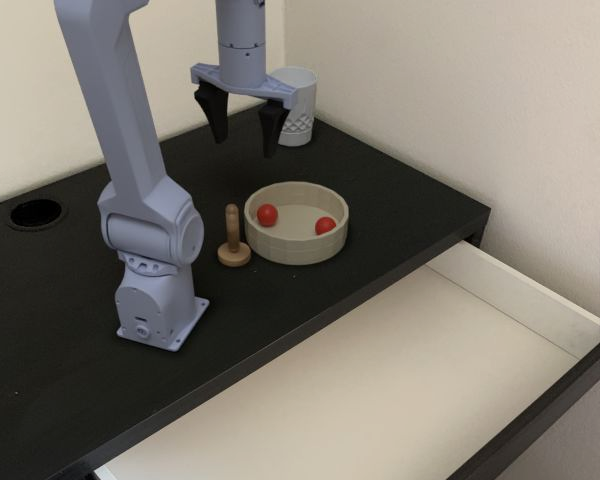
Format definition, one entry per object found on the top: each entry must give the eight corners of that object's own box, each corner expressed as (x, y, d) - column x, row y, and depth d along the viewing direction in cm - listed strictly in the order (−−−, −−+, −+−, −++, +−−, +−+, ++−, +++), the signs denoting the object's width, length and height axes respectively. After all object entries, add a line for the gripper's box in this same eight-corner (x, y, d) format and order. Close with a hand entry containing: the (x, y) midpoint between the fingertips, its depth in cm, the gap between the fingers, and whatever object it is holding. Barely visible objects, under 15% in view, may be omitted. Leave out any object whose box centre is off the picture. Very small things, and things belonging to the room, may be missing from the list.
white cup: (311, 151, 109) (313, 89, 101) (264, 146, 110) (263, 84, 102) (317, 128, 114) (320, 68, 106) (273, 123, 115) (272, 63, 107)
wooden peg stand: (243, 270, 88) (240, 217, 82) (212, 262, 89) (208, 210, 83) (255, 251, 91) (254, 199, 85) (226, 244, 91) (222, 192, 85)
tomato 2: (332, 245, 91) (333, 226, 89) (311, 240, 91) (312, 222, 89) (338, 233, 93) (340, 214, 90) (318, 228, 93) (319, 210, 91)
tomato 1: (273, 232, 93) (273, 213, 90) (253, 227, 93) (253, 208, 91) (281, 220, 94) (281, 202, 92) (261, 216, 95) (261, 197, 93)
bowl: (328, 274, 88) (330, 249, 85) (229, 251, 90) (228, 226, 87) (358, 217, 96) (360, 193, 93) (267, 198, 99) (266, 173, 96)
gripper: (311, 41, 79) (307, 148, 89) (208, 17, 83) (216, 122, 93) (282, 62, 75) (282, 172, 85) (176, 35, 79) (187, 143, 89)
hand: (245, 147), depth 89 cm, fingers open, 7 cm apart
